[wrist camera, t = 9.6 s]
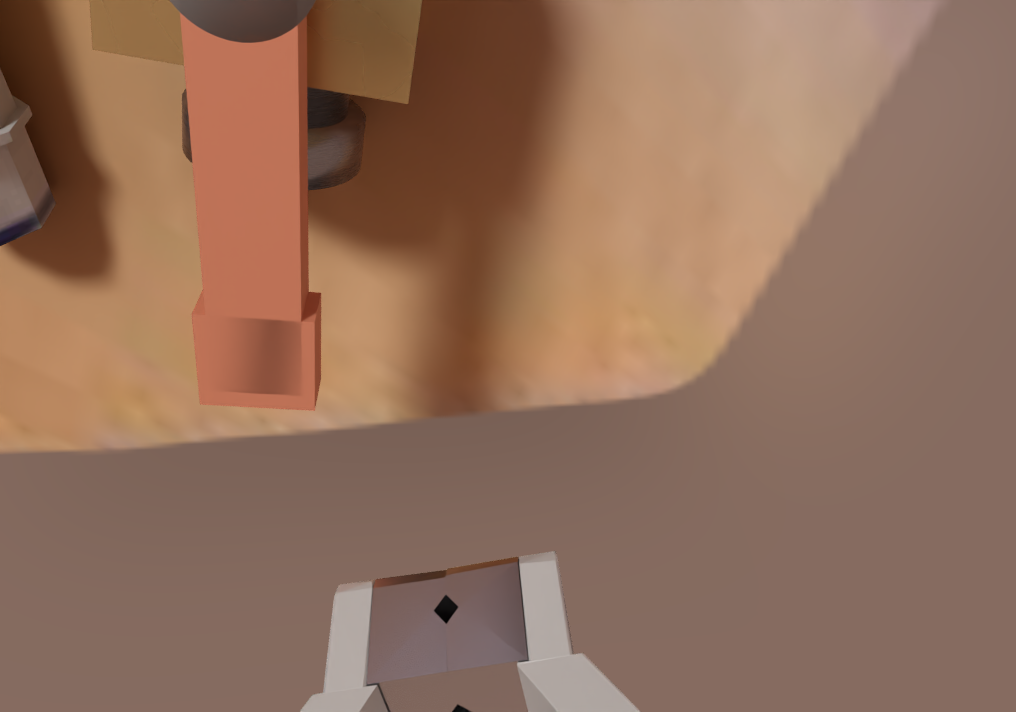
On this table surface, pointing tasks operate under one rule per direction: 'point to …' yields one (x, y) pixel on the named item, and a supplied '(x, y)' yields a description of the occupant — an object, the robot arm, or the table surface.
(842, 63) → the table surface
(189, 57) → the lever
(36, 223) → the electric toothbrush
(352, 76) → the valve
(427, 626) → the robot arm
